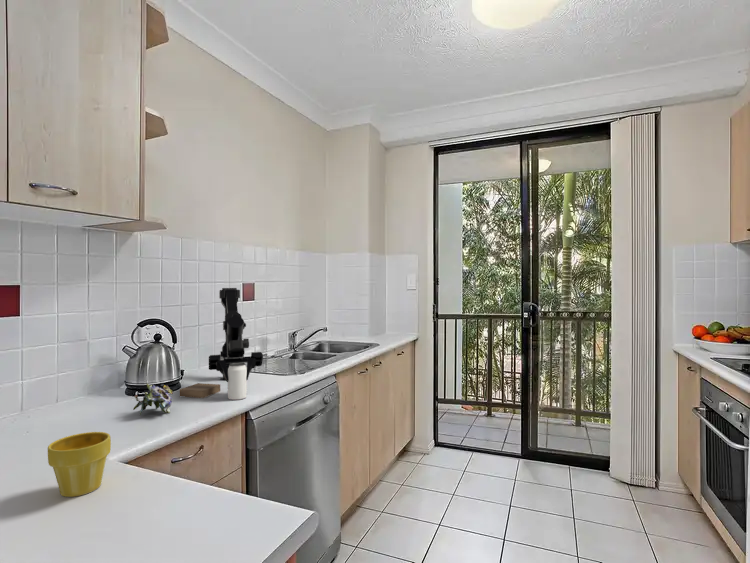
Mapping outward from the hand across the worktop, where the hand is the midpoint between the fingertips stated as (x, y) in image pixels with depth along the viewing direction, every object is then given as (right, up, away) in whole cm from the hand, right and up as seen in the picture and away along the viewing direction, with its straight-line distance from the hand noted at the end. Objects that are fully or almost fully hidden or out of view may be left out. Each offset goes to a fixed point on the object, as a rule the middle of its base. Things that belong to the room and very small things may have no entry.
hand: (237, 380), depth 152 cm
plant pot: (-10, -7, -67) cm, 68 cm away
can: (0, -7, +1) cm, 7 cm away
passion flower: (-21, -7, -17) cm, 28 cm away
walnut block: (-16, -7, +8) cm, 19 cm away
